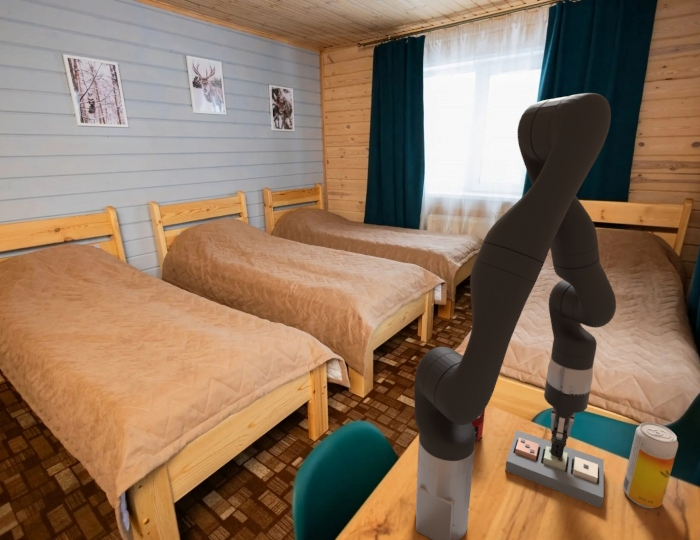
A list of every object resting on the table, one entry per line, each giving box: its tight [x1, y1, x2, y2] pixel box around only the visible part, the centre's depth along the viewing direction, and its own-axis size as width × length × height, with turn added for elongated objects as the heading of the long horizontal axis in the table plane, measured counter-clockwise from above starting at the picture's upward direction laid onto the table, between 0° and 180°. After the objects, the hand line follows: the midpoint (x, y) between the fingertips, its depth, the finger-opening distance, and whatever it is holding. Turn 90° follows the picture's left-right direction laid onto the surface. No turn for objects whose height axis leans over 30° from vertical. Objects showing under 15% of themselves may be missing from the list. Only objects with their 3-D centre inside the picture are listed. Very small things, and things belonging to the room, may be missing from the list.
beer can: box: [622, 421, 679, 509], centre depth 71 cm, size 6×6×15 cm
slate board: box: [505, 429, 605, 509], centre depth 79 cm, size 11×17×2 cm, turn 57°
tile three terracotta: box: [515, 437, 539, 461], centre depth 82 cm, size 4×4×3 cm
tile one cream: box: [571, 457, 598, 483], centre depth 76 cm, size 4×4×3 cm
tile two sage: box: [542, 446, 568, 472], centre depth 79 cm, size 4×4×3 cm
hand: (556, 454), depth 79 cm, fingers closed
